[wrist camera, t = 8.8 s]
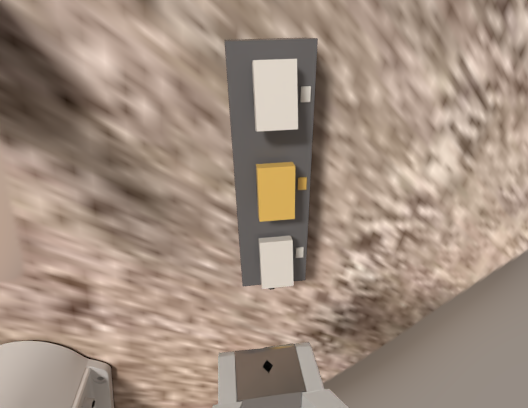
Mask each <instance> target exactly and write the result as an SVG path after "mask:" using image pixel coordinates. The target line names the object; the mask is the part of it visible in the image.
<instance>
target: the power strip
mask: <svg viewBox="0 0 528 408" xmlns="http://www.w3.org/2000/svg"><path fill="white" fill-rule="evenodd" d="M317 41H318V39H317V38H278V39H243V40H225V54H226V67H227V81H228V95H229V108H230V122H231V136H232V149H233V163H234V176H235V190H236V204H237V217H238V231H239V245H240V258H241V271H242V283H243V286H251V285H261V274H260V256H259V238H267V237H279V236H291V238H292V240H293V281H302V280H305V274H306V255H307V235H308V216H309V196H310V177H311V158H312V138H313V119H314V99H315V80H316V60H317ZM273 59H297V90H298V129H294V130H276V131H255V112H254V93H253V74H252V61H253V60H273ZM282 162H293V163H294V165H295V219H288V220H275V221H263V222H260V221H259V217H258V198H257V175H256V164H266V163H282ZM268 289H274V288H268Z"/></svg>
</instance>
